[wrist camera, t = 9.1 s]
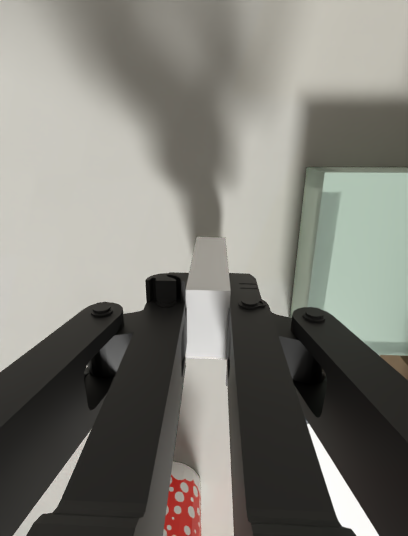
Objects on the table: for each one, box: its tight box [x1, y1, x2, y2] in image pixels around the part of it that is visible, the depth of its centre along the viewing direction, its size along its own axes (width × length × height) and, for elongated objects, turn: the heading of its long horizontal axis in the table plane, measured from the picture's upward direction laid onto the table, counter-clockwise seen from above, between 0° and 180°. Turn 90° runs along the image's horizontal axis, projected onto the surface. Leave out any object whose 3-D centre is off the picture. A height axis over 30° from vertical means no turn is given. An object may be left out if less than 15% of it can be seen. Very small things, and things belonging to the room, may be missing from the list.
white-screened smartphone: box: [304, 416, 379, 536], centre depth 24 cm, size 9×2×16 cm
